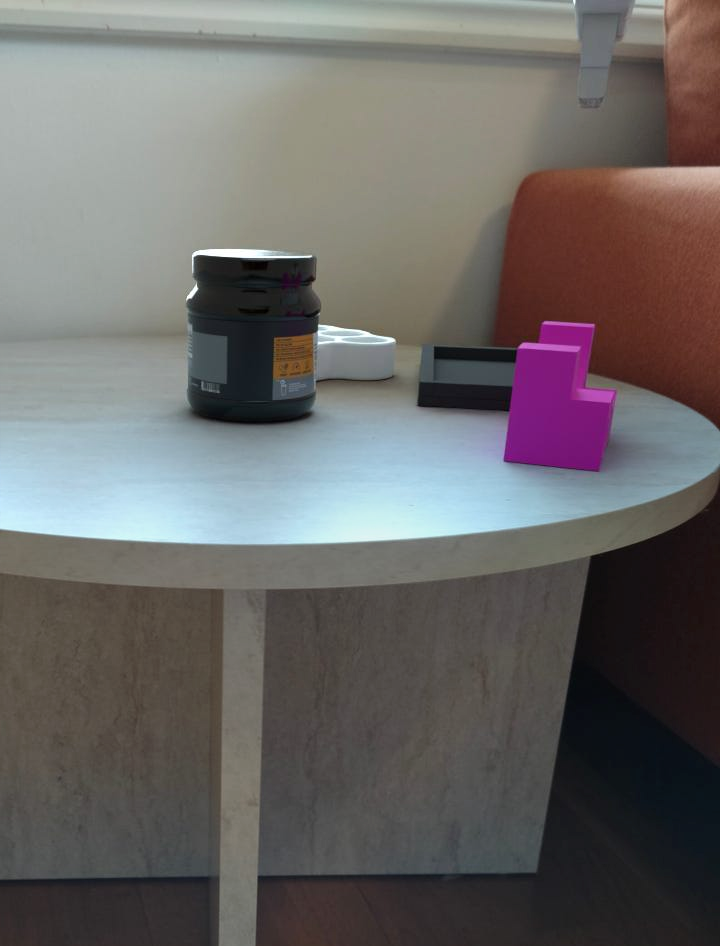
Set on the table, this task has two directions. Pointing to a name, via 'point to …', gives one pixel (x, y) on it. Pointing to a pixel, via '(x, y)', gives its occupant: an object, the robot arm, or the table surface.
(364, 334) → the white well tray
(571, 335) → the toy block
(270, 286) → the supplement container
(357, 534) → the table surface
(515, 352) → the socket pad
